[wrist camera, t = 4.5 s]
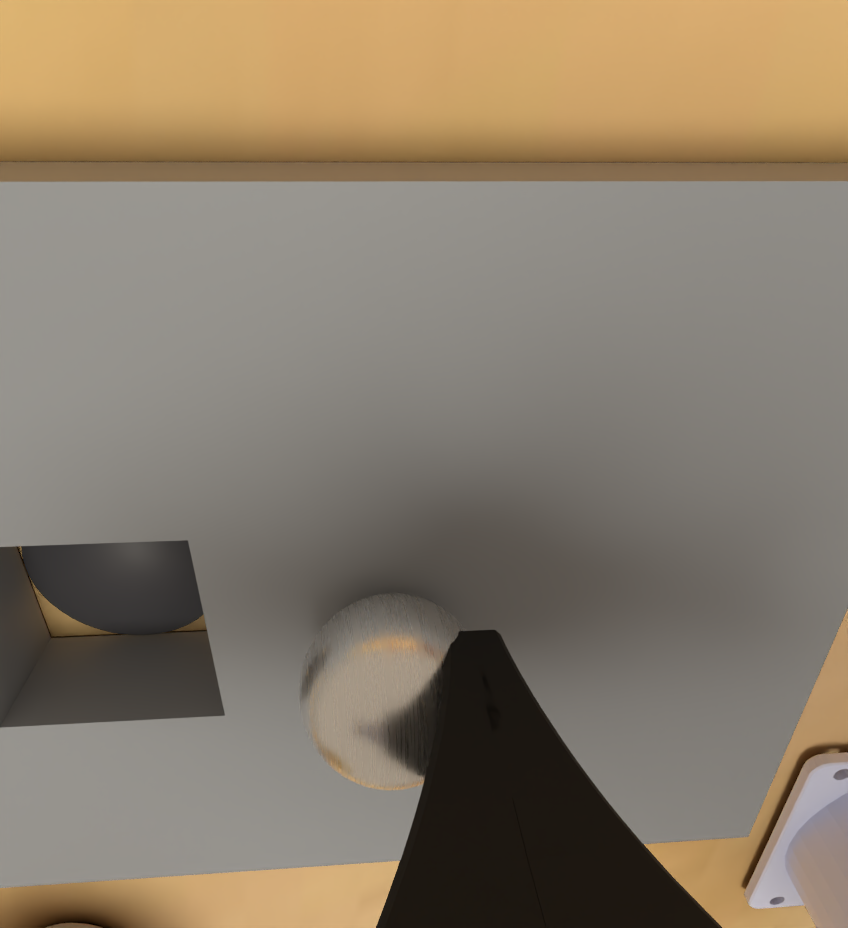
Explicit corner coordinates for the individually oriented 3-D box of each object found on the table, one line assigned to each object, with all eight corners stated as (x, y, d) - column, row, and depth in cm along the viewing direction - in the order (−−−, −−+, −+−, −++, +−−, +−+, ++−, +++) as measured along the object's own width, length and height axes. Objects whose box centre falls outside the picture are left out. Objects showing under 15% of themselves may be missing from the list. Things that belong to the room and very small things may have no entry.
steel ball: (520, 679, 10) (296, 705, 9) (498, 818, 11) (305, 847, 10) (467, 550, 12) (293, 564, 12) (454, 675, 14) (300, 693, 13)
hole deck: (909, 163, 12) (1033, 180, 9) (706, 753, 20) (748, 837, 17) (-314, 161, 10) (-498, 181, 8) (5, 795, 18) (-44, 891, 16)
